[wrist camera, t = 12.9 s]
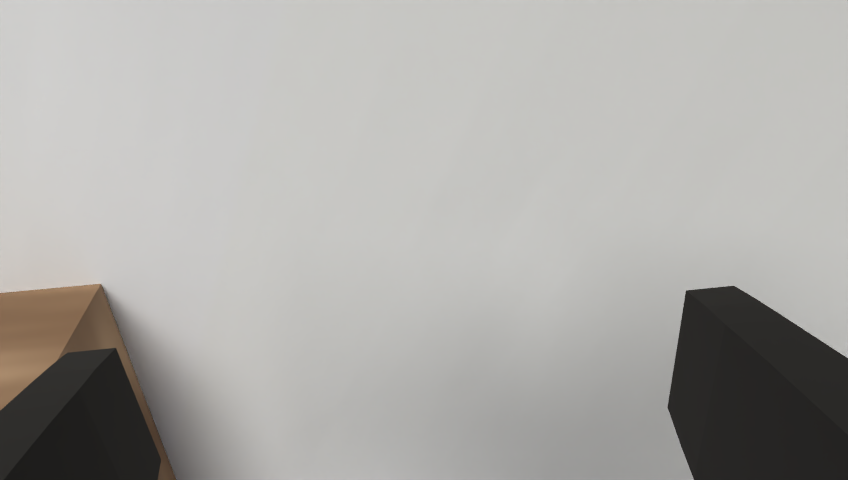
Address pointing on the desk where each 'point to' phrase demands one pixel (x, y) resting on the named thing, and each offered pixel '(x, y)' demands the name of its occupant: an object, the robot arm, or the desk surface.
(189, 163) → the desk surface
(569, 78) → the desk surface
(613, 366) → the desk surface
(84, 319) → the pusher bar
